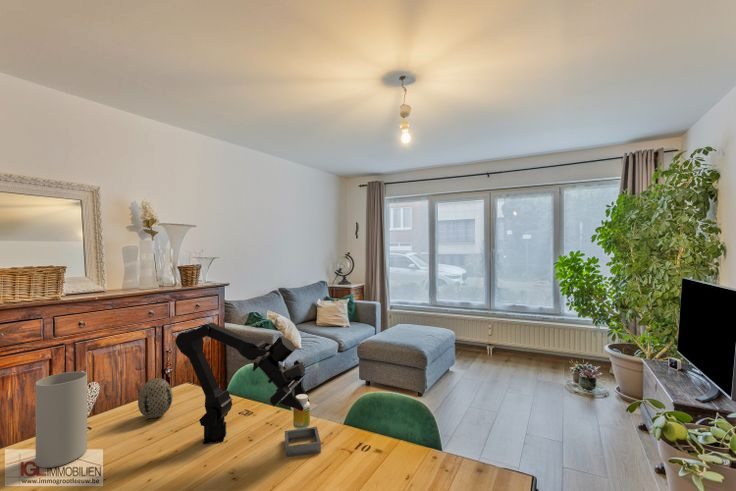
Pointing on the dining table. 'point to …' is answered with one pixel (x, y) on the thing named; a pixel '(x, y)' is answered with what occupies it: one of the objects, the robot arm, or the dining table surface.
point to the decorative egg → (155, 398)
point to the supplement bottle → (302, 413)
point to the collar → (302, 448)
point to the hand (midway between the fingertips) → (305, 406)
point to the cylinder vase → (61, 418)
